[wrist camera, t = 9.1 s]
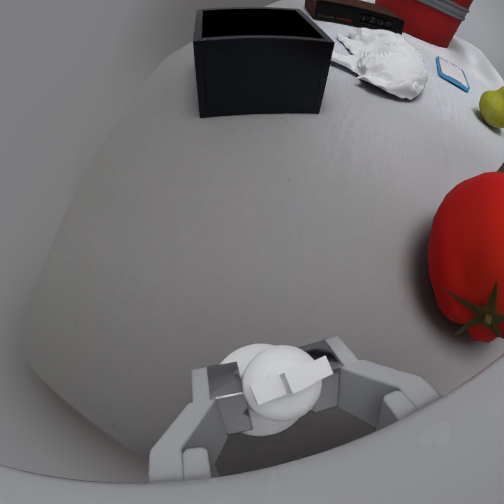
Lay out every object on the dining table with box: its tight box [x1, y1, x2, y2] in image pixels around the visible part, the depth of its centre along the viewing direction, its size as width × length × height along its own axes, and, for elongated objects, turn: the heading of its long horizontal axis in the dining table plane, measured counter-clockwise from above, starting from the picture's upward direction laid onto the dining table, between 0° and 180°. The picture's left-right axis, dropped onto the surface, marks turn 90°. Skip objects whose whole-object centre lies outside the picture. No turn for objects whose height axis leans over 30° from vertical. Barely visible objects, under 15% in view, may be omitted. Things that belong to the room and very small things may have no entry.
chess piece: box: [220, 344, 333, 436], centre depth 9 cm, size 5×5×10 cm
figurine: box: [331, 28, 428, 100], centre depth 38 cm, size 22×25×6 cm
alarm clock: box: [305, 0, 405, 35], centre depth 52 cm, size 24×12×6 cm, turn 92°
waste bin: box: [193, 7, 334, 118], centre depth 29 cm, size 14×14×10 cm
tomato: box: [427, 172, 504, 342], centre depth 17 cm, size 13×13×13 cm
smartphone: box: [436, 57, 470, 91], centre depth 45 cm, size 8×1×15 cm
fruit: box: [479, 87, 504, 128], centre depth 31 cm, size 7×7×12 cm
